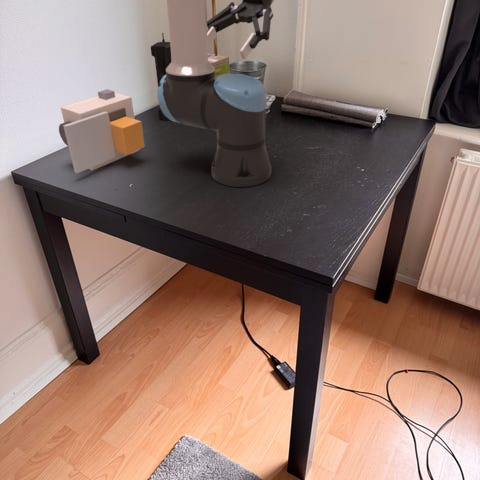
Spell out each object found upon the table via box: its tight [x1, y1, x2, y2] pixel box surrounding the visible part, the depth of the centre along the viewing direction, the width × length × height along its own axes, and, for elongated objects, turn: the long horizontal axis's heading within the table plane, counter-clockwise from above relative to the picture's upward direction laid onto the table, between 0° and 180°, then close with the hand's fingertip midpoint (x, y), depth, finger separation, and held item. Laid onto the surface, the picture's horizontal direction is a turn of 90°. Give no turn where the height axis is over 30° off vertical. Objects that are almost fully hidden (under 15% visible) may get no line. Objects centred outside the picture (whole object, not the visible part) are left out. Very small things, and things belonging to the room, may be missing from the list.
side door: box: [63, 112, 146, 174], centre depth 113 cm, size 6×18×12 cm, turn 142°
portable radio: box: [150, 32, 172, 121], centre depth 142 cm, size 8×6×25 cm
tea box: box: [208, 52, 230, 79], centre depth 161 cm, size 15×10×15 cm, turn 55°
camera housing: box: [58, 89, 140, 171], centre depth 119 cm, size 9×18×16 cm, turn 142°
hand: (221, 51), depth 121 cm, fingers open, 13 cm apart
